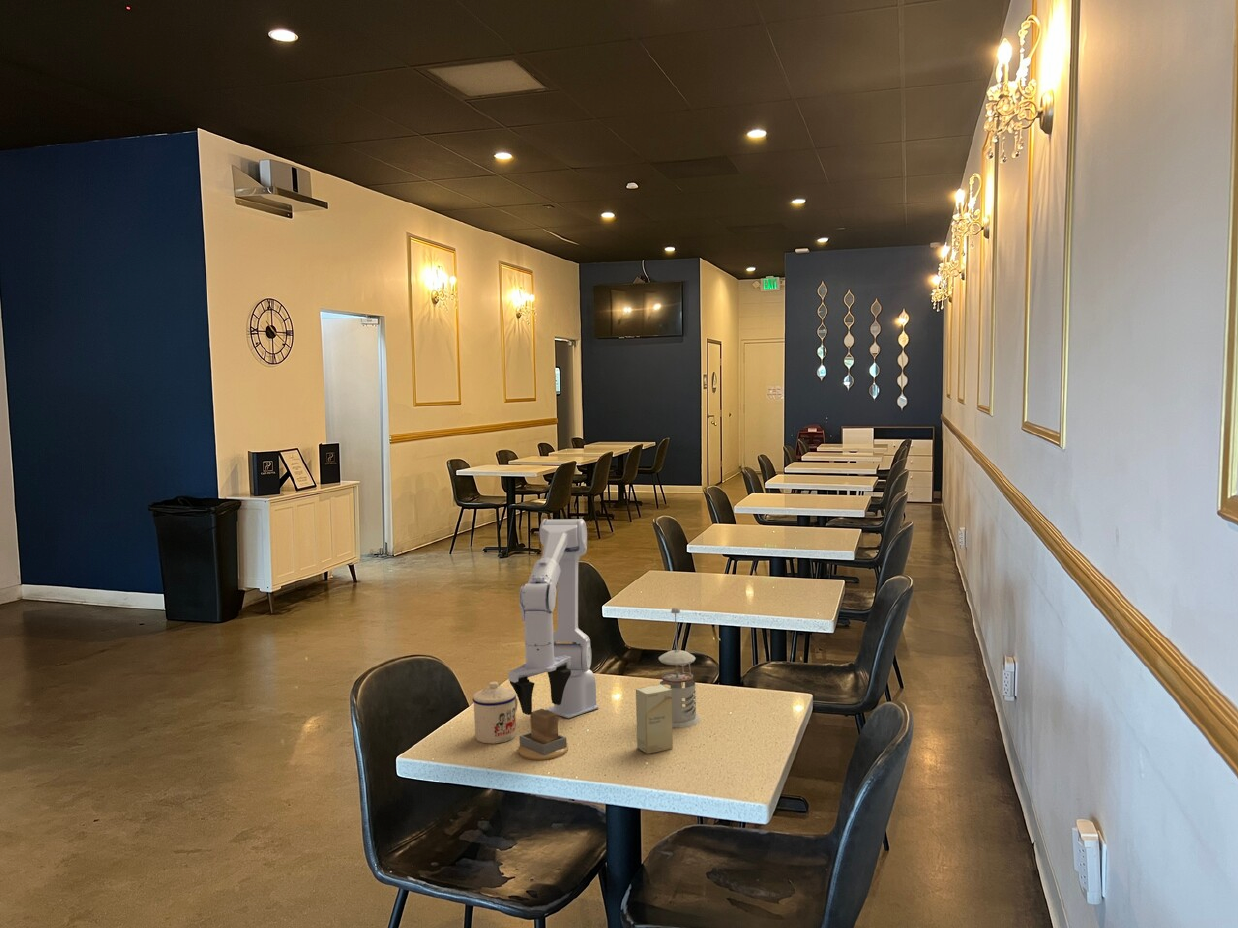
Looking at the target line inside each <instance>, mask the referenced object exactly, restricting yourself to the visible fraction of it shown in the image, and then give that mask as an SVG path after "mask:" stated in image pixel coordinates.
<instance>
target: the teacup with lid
mask: <svg viewBox="0 0 1238 928" xmlns="http://www.w3.org/2000/svg"><path fill="white" fill-rule="evenodd" d="M472 702H473V712H474V713H473V715H474V737H475V740H476V741H478V742H480V743H482V744H502V743H506V742H509V741H512V740H513V739H514V738H515V737H516V735H517V721H516V720H517V718H516V717H517V715H516V712H517V710H518V703H519V701H518V697H517V694H516V692H515V690H514V689H511V688H507V687H504V686H502V685H499V682H498V681H491V682H489V683H488V686H487V687H485V688H483V689H481V690H479V691H477V692H475V693H474V694H473V696H472Z"/></svg>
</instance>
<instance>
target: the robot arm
mask: <svg viewBox="0 0 1238 928" xmlns="http://www.w3.org/2000/svg"><path fill="white" fill-rule="evenodd" d="M538 535H539V541H540V544H541V545H542V547H543V549H542V554H541V558H539V559H537V560H536V561H535V563H534V564H533V567H532V570H531V573H530V575H529V579H528V581H527V582H526V583H525V585H522V586H521V587H520V589H519V597H518V602H519V603H518V605H519V608H520V612H521V621H523V623H524V625H523V626H524V649H525V663H524V664H522V665H520V666H518V667H516V668H514V669H511V670H508V672H507V673H508V675H507V676H508V681H509V684H510V685H511V687H512V688H513V689H512V690H513V691H514V693H515V695H516V697H517V700H518V703H519V705H520V707H521V711H522V712H521V713H523V714H524V715H528V716H530V714H531V713H532V712H533V700H532V698H533V693H534V688H535V682H533V681H530V679H529V678H530V677H535V676H537V675H541V674H544V673H547V677H548V678H549V685H550V686H549V687H550V698H551V699H550V700H551V703H552V704H553V706H550V707H547V708H545V710H547V711H550V712H553V713H556V714H558V716H559V717H563V718H565V719H570V718H573V717H577V716H579V715H582V714H585V713H588V712H591V711H594V710H596V709H599V707H600V706H599V705H597V688H596V687H597V686H596V684H597V683H596V677H595V675H594V673H593V671H592V670H591V669H590V668H591V665H592V648H591V639H590V637H589V636H588V635H587V634H586V633H584V632H583V630H581V629H580V628H579V563H580V557H582V556H584V555H585V554H587V549H588V529H587V523H586V521H585V520H584V519H583V518H579V519H576V518H575V519H574V518H572V519H569V518H568V519H567V518H566V519H548V518H544V519H542V521H541V523H540V525H539V533H538ZM556 587H557V588H556ZM556 598H557V599H556ZM556 600H557V629H556V630H555V631H554V621H553V620H554V616H553V612H554V610H555V608H556Z"/></svg>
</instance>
